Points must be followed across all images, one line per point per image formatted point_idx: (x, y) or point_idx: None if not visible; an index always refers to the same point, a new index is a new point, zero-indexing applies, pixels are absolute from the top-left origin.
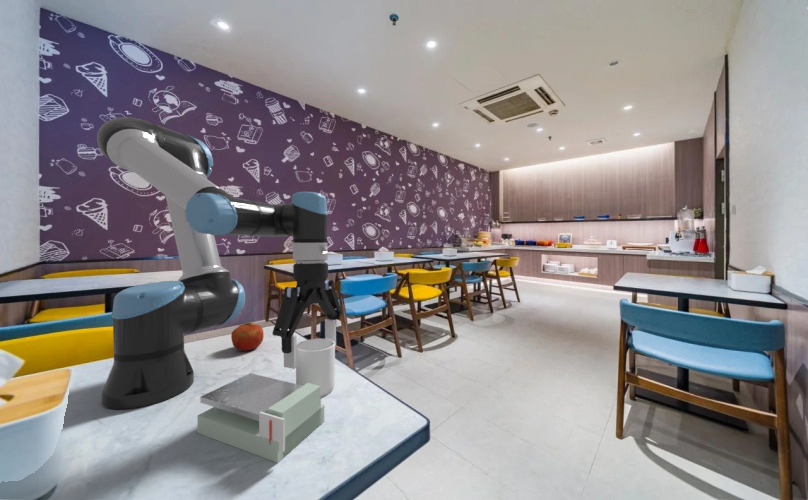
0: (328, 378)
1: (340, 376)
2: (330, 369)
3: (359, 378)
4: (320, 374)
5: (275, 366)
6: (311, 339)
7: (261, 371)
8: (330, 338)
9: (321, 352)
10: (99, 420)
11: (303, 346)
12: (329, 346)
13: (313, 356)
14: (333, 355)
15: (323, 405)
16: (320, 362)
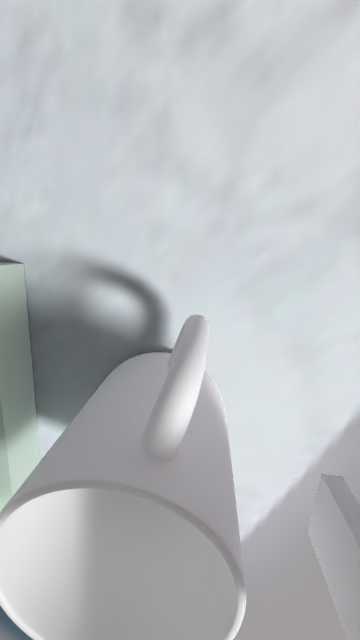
0: (135, 498)
1: (272, 437)
2: (138, 531)
3: (274, 496)
4: (97, 506)
5: (295, 96)
6: (193, 523)
7: (221, 73)
8: (337, 566)
9: (52, 628)
10: None
11: (135, 461)
12: (225, 572)
13: (31, 580)
14: (151, 596)
15: None
16: (74, 561)
